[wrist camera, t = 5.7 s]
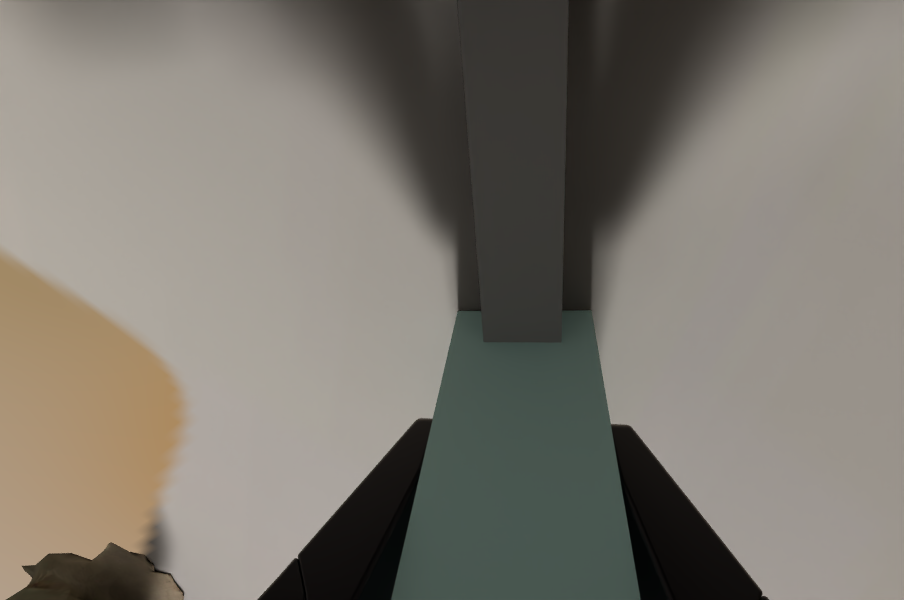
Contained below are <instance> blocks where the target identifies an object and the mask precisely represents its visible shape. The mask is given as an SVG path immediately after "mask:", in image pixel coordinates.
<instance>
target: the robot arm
mask: <svg viewBox="0 0 904 600" xmlns="http://www.w3.org/2000/svg"><path fill="white" fill-rule="evenodd" d="M432 421H433V419H425V418H420V419H418V420H416V421H415V422H414V423H413V424H412V426H411V427H410V428H409V429H408V430H407V431H406V432H405V434H404V435H403V436H402V437H401V438H400V439H399V440H398V441H397V443H396V444H395V445H394V446H393V447H392V448H391V449H390V451H389V452H388V453H387V454H386V455H385V456H384V457H383V459H382V460H381V461H380V462H379V463H378V464H377V465H376V467H375V468H374V469H373V470H372V471H371V472H370V473H369V475H368V476H367V477H366V478H365V479H364V480H363V481H362V483H361V484H360V485H359V486H358V487H357V488H356V489H355V490H354V492H353V493H352V494H351V495H350V496H349V497H348V498H347V500H346V501H345V502H344V503H343V504H342V505H341V506H340V508H339V509H338V510H337V511H336V512H335V513H334V514H333V516H332V517H331V518H330V519H329V520H328V521H327V522H326V524H325V525H324V526H323V527H322V528H321V529H320V530H319V531H318V533H317V534H316V535H315V536H314V537H313V538H312V539H311V541H310V542H309V543H308V544H307V545H306V546H305V547H304V549H303V550H302V551H301V552H300V553H299V554H298V559H297V558H295V559H294V560H293V561H292V562H291V563H290V564H289V565H288V567H287V568H286V569H285V570H284V571H283V572H282V573H281V575H280V576H279V577H278V578H277V579H276V580H275V581H274V582H273V583H272V584H271V585H270V587H269V588H268V589H267V590H266V591H265V592H264V593H263V594H262V595H261V596H260V597H259V598H258V600H391V598H392V594H393V589H394V585H395V581H396V576H397V572H398V568H399V563H400V559H401V555H402V550H403V546H404V542H405V537H406V533H407V529H408V524H409V520H410V516H411V511H412V507H413V503H414V498H415V494H416V490H417V485H418V481H419V477H420V472H421V468H422V464H423V459H424V455H425V451H426V447H427V442H428V438H429V434H430V429H431V425H432ZM611 429H612V435H613V441H614V446H615V452H616V458H617V464H618V470H619V476H620V482H621V487H622V493H623V499H624V505H625V511H626V517H627V523H628V528H629V534H630V540H631V546H632V552H633V558H634V564H635V570H636V575H637V581H638V587H639V593H640V599H641V600H769V599H768V598H767V597H766V596H762V591H761V589H760V588H759V587H758V585H757V584H756V583H755V582H754V580H753V579H752V578H751V577H750V575H749V574H748V573H747V572H746V570H745V569H744V568H743V567H742V565H741V564H740V563H739V562H738V560H737V559H736V558H735V557H734V555H733V554H732V553H731V552H730V550H729V549H728V548H727V547H726V545H725V544H724V543H723V541H722V540H721V539H720V538H719V536H718V535H717V534H716V533H715V531H714V530H713V529H712V528H711V526H710V525H709V524H708V523H707V521H706V520H705V519H704V518H703V516H702V515H701V514H700V513H699V511H698V510H697V509H696V508H695V506H694V505H693V504H692V503H691V501H690V500H689V499H688V497H687V496H686V495H685V494H684V492H683V491H682V490H681V489H680V487H679V486H678V485H677V484H676V482H675V481H674V480H673V479H672V477H671V476H670V475H669V474H668V472H667V471H666V470H665V469H664V467H663V466H662V465H661V464H660V462H659V461H658V460H657V458H656V457H655V456H654V455H653V453H652V452H651V451H650V450H649V448H648V447H647V446H646V445H645V443H644V442H643V441H642V440H641V438H640V437H639V436H638V435H637V433H636V432H635V431H634V430H633V428H632V427H631V426H629V425H619V424H611Z"/></svg>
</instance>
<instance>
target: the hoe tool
mask: <svg viewBox="0 0 904 600" xmlns="http://www.w3.org/2000/svg"><path fill="white" fill-rule="evenodd" d="M457 5H458V18H459V31H460V44H461V57H462V70H463V83H464V96H465V109H466V121H467V134H468V147H469V160H470V173H471V186H472V199H473V212H474V225H475V238H476V251H477V264H478V277H479V290H480V303H481V311H458V312H457V317H456V321H455V325H454V330H453V334H452V338H451V343H450V347H449V351H448V356H447V360H446V364H445V369H444V373H443V377H442V382H441V386H440V390H439V395H438V399H437V403H436V408H435V412H434V416H433V421H432V425H431V429H430V434H429V438H428V442H427V447H426V451H425V455H424V459H423V464H422V468H421V472H420V477H419V481H418V485H417V490H416V494H415V498H414V503H413V507H412V511H411V516H410V520H409V524H408V529H407V533H406V537H405V542H404V546H403V550H402V555H401V559H400V563H399V568H398V572H397V576H396V581H395V585H394V589H393V594H392V598H391V600H641V599H640V593H639V587H638V581H637V575H636V570H635V564H634V558H633V552H632V546H631V540H630V534H629V528H628V523H627V517H626V511H625V505H624V499H623V493H622V487H621V482H620V476H619V470H618V464H617V458H616V452H615V446H614V441H613V435H612V429H611V423H610V417H609V411H608V405H607V400H606V394H605V388H604V382H603V376H602V370H601V364H600V359H599V353H598V347H597V341H596V335H595V329H594V323H593V318H592V312H591V310H574V311H562V294H563V247H564V201H565V154H566V107H567V61H568V14H569V0H457Z"/></svg>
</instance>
